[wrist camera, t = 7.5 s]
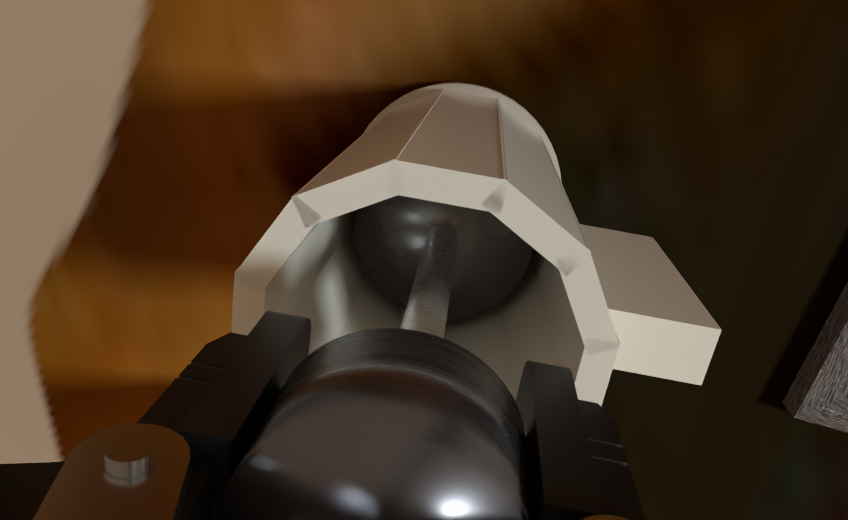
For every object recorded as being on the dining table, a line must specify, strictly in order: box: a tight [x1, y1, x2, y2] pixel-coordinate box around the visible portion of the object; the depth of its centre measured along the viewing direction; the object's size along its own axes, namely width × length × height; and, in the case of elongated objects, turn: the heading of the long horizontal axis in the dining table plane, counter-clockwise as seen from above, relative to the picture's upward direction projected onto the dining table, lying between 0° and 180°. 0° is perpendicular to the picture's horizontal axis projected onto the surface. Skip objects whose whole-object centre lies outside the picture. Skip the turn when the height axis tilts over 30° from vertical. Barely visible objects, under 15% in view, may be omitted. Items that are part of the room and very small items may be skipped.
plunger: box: [211, 195, 533, 520], centre depth 13 cm, size 5×5×13 cm
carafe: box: [231, 82, 721, 406], centre depth 18 cm, size 10×8×13 cm
